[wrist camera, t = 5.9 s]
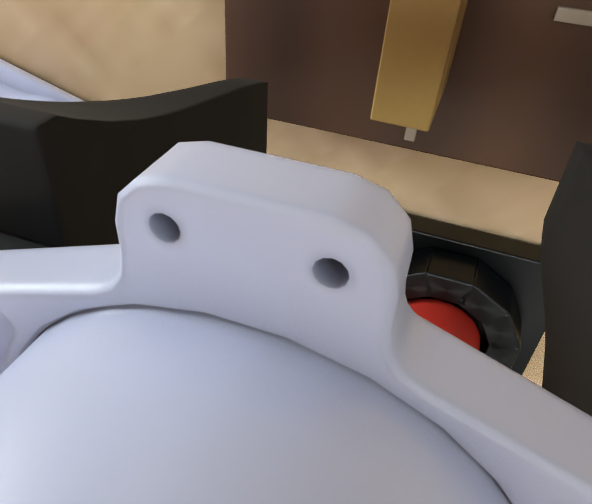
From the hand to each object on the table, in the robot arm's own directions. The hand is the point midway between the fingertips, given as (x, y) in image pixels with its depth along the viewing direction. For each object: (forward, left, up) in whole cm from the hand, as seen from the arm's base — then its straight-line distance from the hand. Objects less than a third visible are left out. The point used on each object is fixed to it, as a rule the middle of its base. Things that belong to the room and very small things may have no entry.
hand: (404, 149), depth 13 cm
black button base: (+5, -10, -8) cm, 14 cm away
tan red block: (-1, +2, -6) cm, 6 cm away
